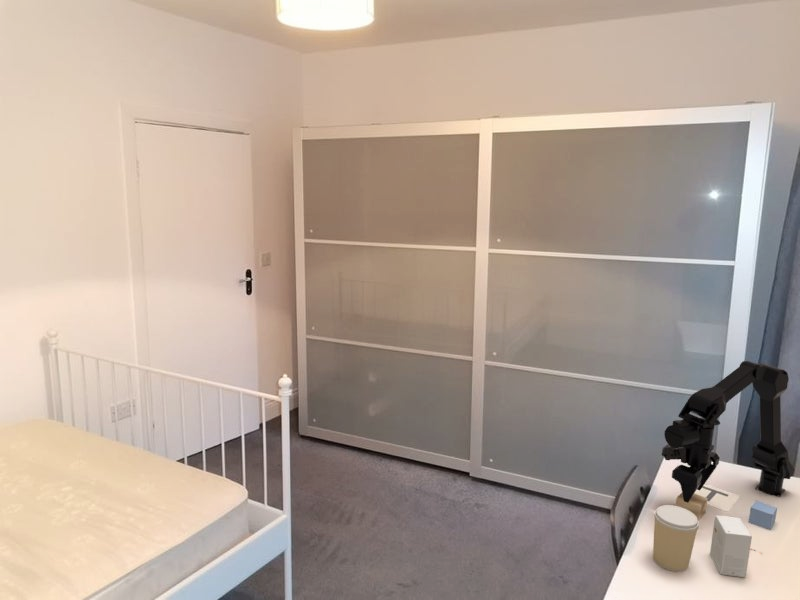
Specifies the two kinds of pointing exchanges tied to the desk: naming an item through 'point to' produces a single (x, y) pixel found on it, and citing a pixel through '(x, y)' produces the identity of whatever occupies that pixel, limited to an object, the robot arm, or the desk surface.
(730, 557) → the small box
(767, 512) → the slate blue cube
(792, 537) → the desk surface
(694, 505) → the light oak block
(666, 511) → the coffee cup
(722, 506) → the board
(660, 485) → the desk surface
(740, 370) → the robot arm
